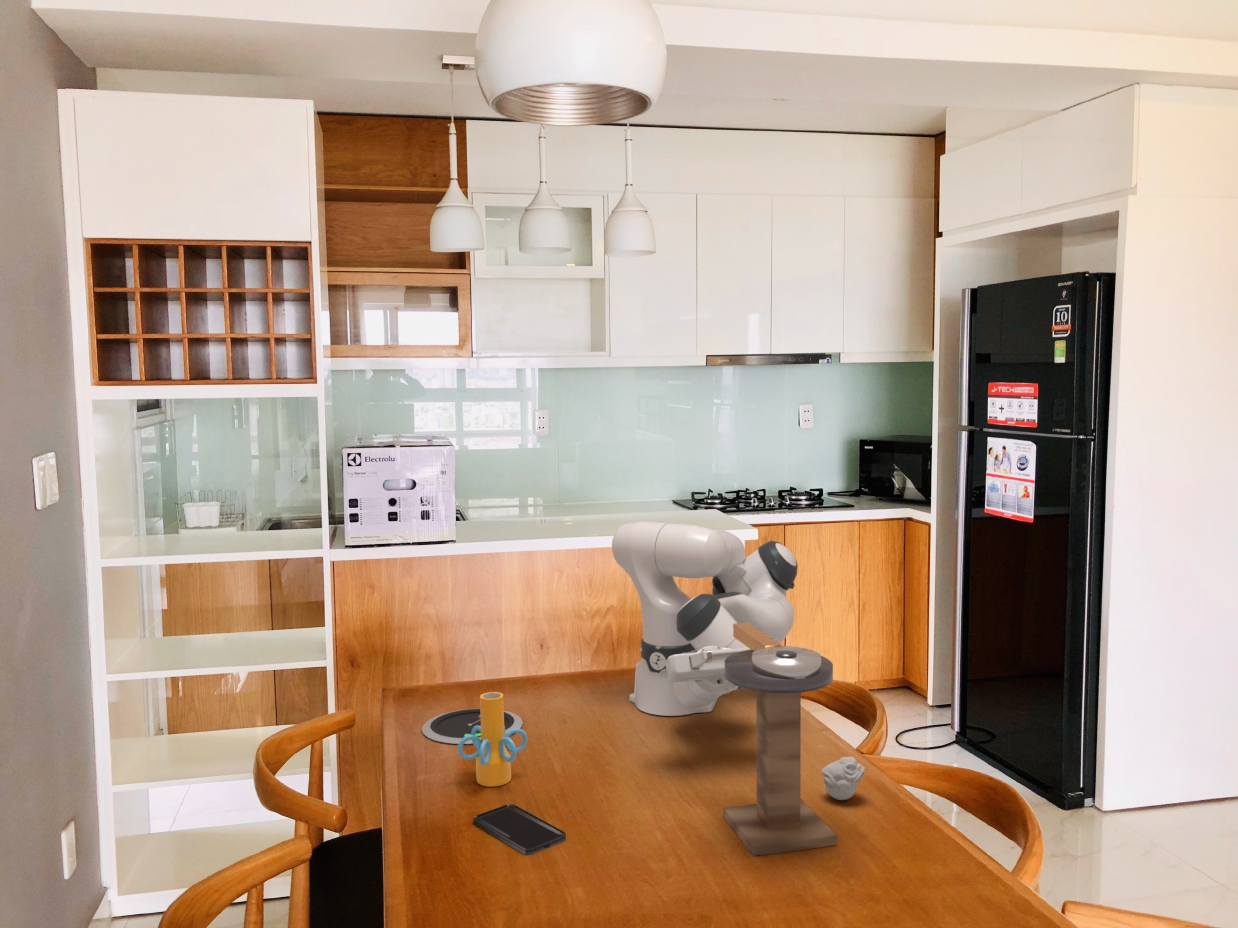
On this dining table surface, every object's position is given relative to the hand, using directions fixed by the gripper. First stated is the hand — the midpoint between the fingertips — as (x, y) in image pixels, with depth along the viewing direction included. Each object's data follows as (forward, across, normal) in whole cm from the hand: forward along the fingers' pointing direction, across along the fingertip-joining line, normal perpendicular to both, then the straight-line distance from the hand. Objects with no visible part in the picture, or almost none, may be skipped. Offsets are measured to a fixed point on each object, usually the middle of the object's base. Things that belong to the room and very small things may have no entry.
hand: (734, 652), depth 162 cm
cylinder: (-20, -40, +14) cm, 47 cm away
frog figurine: (-1, +14, +26) cm, 29 cm away
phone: (-3, -39, +24) cm, 46 cm away
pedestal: (+6, 0, +29) cm, 30 cm away
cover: (+16, 0, +4) cm, 16 cm away
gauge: (-44, -42, +1) cm, 61 cm away
